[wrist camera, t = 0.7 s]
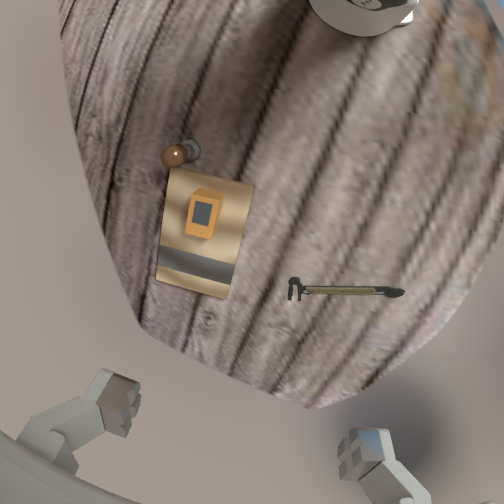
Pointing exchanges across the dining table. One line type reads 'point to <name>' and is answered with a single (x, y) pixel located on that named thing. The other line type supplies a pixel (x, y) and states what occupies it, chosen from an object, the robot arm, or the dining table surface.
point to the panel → (197, 248)
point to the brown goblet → (180, 153)
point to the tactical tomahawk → (342, 290)
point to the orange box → (204, 213)
